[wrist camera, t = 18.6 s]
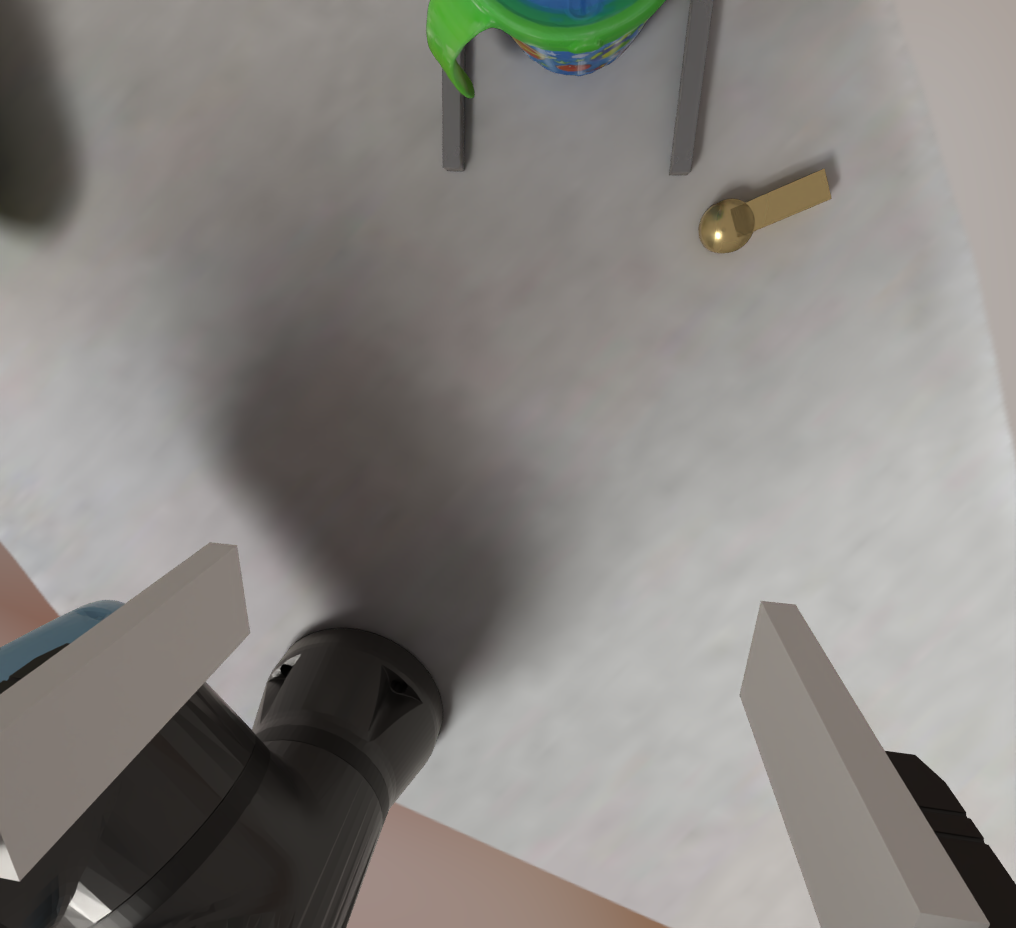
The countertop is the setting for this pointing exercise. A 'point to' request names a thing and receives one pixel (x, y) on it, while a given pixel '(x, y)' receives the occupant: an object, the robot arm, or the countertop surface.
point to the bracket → (685, 109)
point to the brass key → (759, 212)
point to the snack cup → (538, 31)
